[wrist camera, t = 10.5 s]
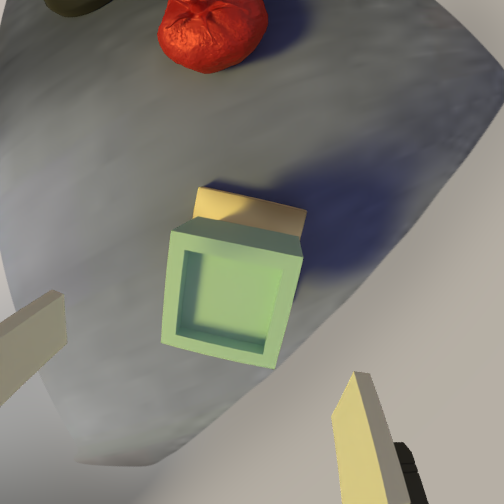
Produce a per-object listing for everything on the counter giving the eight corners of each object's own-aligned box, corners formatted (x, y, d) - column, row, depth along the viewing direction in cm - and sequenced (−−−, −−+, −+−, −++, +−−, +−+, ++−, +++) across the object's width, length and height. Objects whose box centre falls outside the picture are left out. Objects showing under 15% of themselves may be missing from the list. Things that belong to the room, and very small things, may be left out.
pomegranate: (288, 42, 25) (292, -4, 16) (206, 99, 27) (178, 72, 18) (228, -15, 24) (213, -65, 15) (152, 38, 26) (113, 2, 17)
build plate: (202, 186, 29) (185, 189, 24) (305, 209, 29) (310, 218, 24) (185, 282, 32) (167, 303, 27) (280, 306, 32) (279, 332, 26)
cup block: (197, 216, 24) (171, 230, 18) (298, 236, 24) (303, 257, 18) (185, 307, 27) (161, 342, 21) (277, 327, 26) (274, 369, 20)
